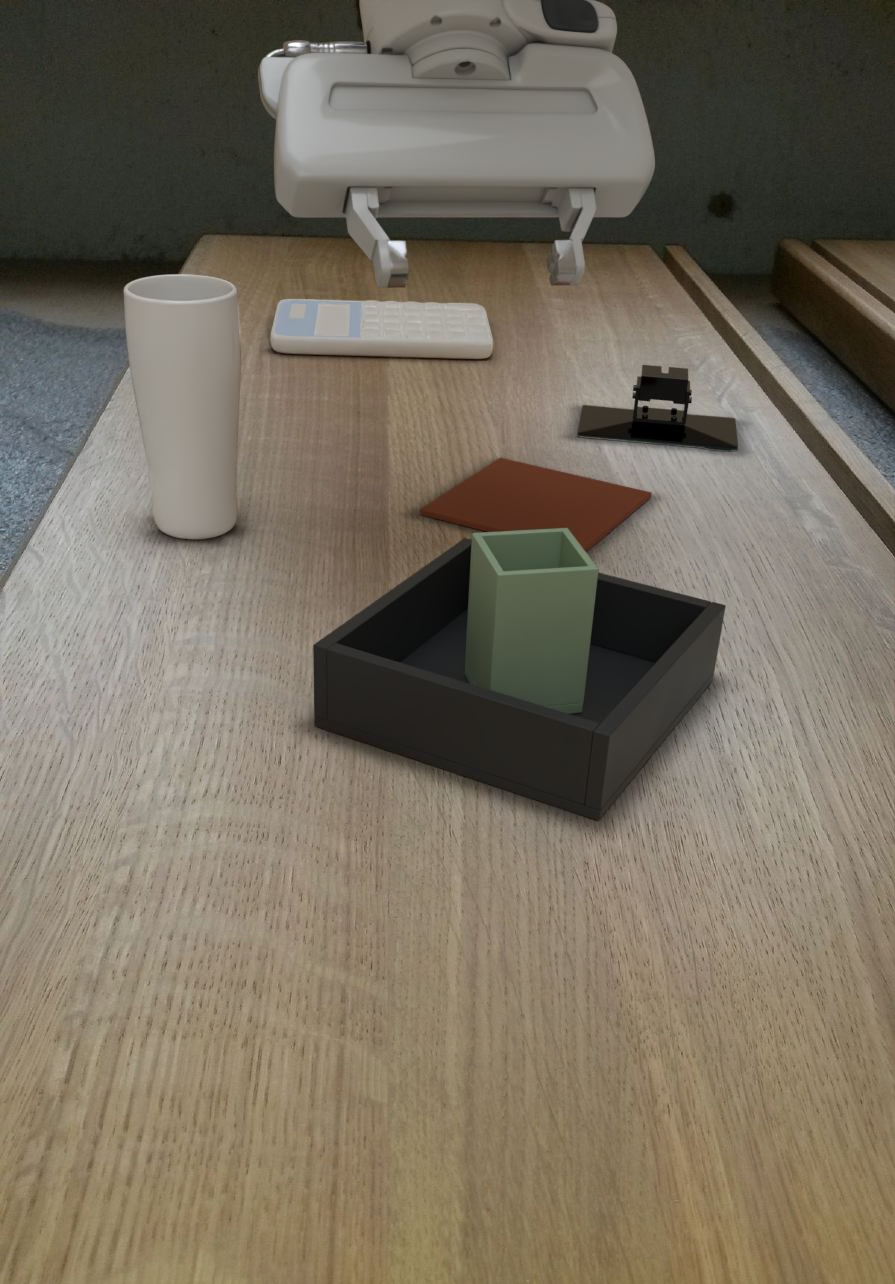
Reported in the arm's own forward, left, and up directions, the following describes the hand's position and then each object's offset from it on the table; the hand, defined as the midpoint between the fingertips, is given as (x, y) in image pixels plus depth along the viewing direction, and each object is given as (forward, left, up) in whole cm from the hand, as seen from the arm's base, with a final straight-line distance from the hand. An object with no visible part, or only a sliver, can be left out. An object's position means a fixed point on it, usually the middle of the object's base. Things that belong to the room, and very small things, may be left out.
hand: (482, 281), depth 71 cm
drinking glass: (+20, 0, -18) cm, 27 cm away
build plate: (+2, -36, -18) cm, 40 cm away
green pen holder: (-8, +9, -18) cm, 22 cm away
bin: (-8, +9, -18) cm, 22 cm away
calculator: (+33, -45, -18) cm, 58 cm away
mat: (+3, -16, -18) cm, 24 cm away
